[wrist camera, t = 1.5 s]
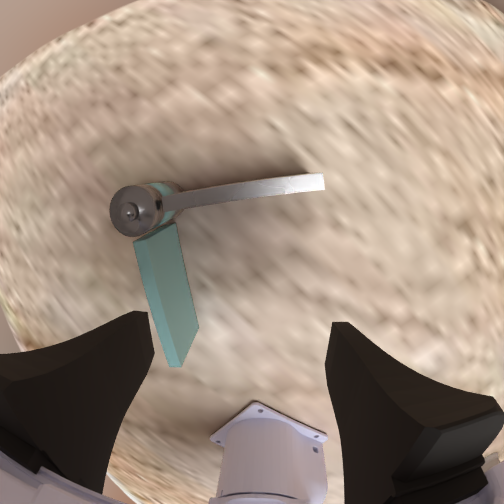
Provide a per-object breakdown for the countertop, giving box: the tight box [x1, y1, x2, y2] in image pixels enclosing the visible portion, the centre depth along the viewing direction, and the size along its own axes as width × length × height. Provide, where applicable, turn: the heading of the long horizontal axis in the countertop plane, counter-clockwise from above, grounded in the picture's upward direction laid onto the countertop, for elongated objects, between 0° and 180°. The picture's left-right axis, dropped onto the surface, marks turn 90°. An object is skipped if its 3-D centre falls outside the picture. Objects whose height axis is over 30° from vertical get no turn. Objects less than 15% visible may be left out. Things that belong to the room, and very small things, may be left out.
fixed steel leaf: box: [110, 173, 325, 237], centre depth 16 cm, size 11×3×6 cm, turn 98°
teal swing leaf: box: [133, 183, 199, 367], centre depth 17 cm, size 11×3×5 cm, turn 8°
